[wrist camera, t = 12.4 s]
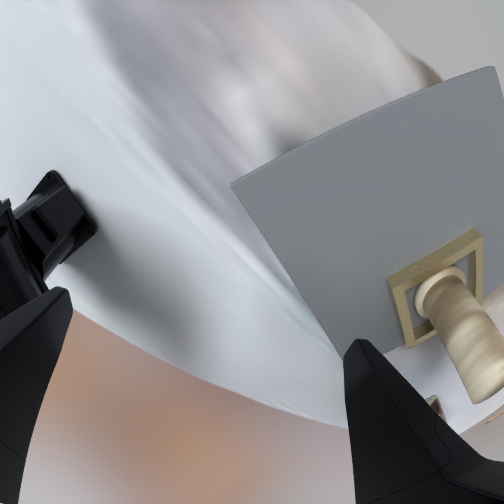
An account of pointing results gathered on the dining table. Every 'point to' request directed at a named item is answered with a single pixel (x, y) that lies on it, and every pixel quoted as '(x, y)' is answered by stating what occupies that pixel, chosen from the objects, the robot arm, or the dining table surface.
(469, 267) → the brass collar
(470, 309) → the disc
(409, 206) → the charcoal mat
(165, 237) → the dining table surface
